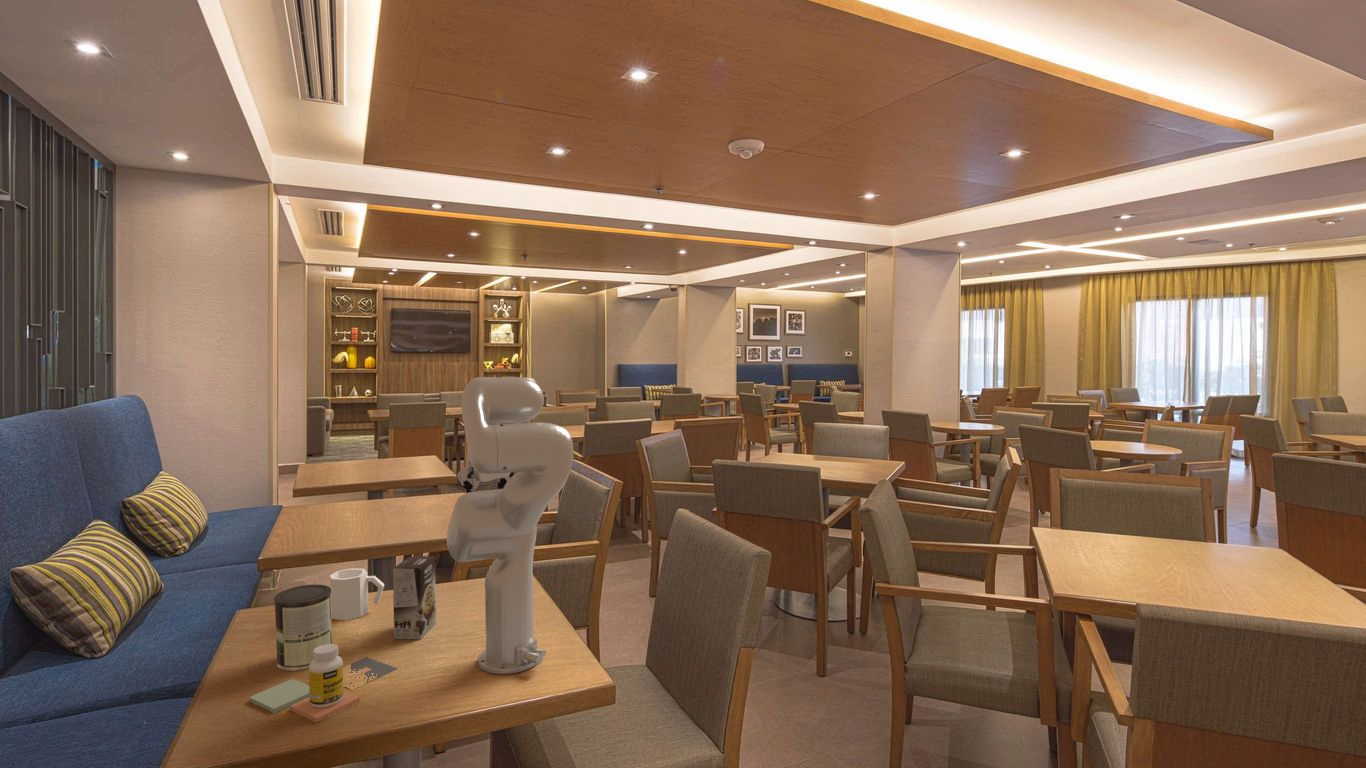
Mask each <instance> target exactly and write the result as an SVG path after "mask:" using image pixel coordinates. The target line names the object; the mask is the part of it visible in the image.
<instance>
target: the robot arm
mask: <svg viewBox="0 0 1366 768" xmlns="http://www.w3.org/2000/svg"><path fill="white" fill-rule="evenodd" d="M544 403H545V397H544V393H543V390H542V389H541V387H540V385H538V384H537V382H536V379H534V378H533V377H523V376H521V377H519V376H501V377H497V376H496V377H495V376H484V377H483V376H481V377H479V376H478V377H473V378H472V379H471V380H470V381H469V382H468V383H467V384H466V385H465V387H464V389H463V390H462V396H461V416H462V422H463V428H464V432H465V440H466V446H467V449H466V459H465V461H466V463H465V466H464V467H463V468H462V469H461V470H460V471H459V472H457V473H456V477H457V479H458V482H459V485H460V486H461V487H462V489H463V491H465V493H464V494H462V495H460V496H458V498H457V499H456V501H455V504H454V506H453V508H452V509H453V510H452V514H451V517H450V518H449V519H450V520H449V523H448V527H447V528H448V529H447V532H446V533H447V534H446V545H447V546H446V547H447V549H448V552H449V555H450V556H451V558H452V559H453V560H455V561H456V562H459V563H469V562H476V561H485V560H492V559H493V560H494V561H493V562H492V564H491V565H490V567H489V569H488V571H487V573H486V576H485V579H484V600H485V601H484V603H485V604H484V605H485V606H484V607H485V608H484V609H485V611H484V612H485V614H484V615H485V616H484V617H485V650H483V651H482V652H481V653H480V654H479V656H478V658H477V664H478V665H477V666H478V667H479V668H480V669H481V670H482V671H484V672H486V673H490V674H495V675H508V674H516V673H521V672H524V671H526V670H529V669H531V668H533V667H534V666H536V665H541V664H542V663H543V658H544V657H545V656H546V655H547V654H546V653H547V650H546V649H542V648H539V646H538V639H537V638H534V605H533V603H534V599H533V598H534V597H533V596H534V591H533V589H534V588H533V585H534V584H533V581H534V580H533V574H534V573H533V572H534V571H533V569H534V567H533V566H534V565H533V564H534V553H535V548H536V540H537V533H538V530H537V529H538V526H537V525H538V522H539V521H540V519H541V517H542V515H543V514H544V512H545V510H546V508H547V506H548V505H549V504H550V503H551V502H552V501H553V499H554V498H555V497H557V495H558V494H559V493H560V492H561V490H562V489H563V488H564V486H565V484H566V483H567V480H568V478H569V475H570V473H571V469H572V467H573V466H572V465H573V460H574V443H573V439H572V436H571V434H570V432H569V431H568V430H567V429H566V428H564V427H562V426H561V425H558V424H554V423H550V422H538V421H537V422H529V421H531V420H533V419H535V418H536V417H537V416H539V415H540V413H541V412H542V410H543V407H544ZM496 480H498V481H499V482H497V489H496V488H495V489H490V490H477V488H478V487H479V485H480V483H485V482H490V481H491V482H492V481H496Z"/></svg>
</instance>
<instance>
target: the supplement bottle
mask: <svg viewBox="0 0 1366 768" xmlns="http://www.w3.org/2000/svg"><path fill="white" fill-rule="evenodd" d="M313 657H314V659H315V660H313V661H312V662H311V663H310V666H309V669H308V674H309V675H308V678H309V680H308V681H309V682H308V683H309V684H308V685H309V695H310V705H311V706H313V707H316V708H324V707H329V706H332V705H334V704H336V703H338V702H339V701H341V699H342V698H343V691H344V687H343V667H344V662H343V658H342V657H341V656H340V655H339V646H338V644H335V643H332V644H325V645H321V646H318V647H316V648H315V649H314V650H313Z"/></svg>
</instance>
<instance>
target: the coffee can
mask: <svg viewBox="0 0 1366 768" xmlns="http://www.w3.org/2000/svg"><path fill="white" fill-rule="evenodd" d="M273 600H274V601H273V602H274V609H275V610H274V611H275V636H276V639H275V641H276V666H277V668H278V669H280V670H283V671H290V672H292V671H293V672H294V671H295V672H296V671H303V670H309V666H310V663H311V662H312V661H313V660H315V659H314V657H313V650H314V649H315V648H316V647H318V646H321V645H325V644H333V634H332V633H333V631H332V629H333V628H332V617H331V588H330V585H326V584H325V585H324V584H304V585H299V586H295V587H294V586H293V587H290V588H287V589H285V590H282V591H281V592H278V593H277V594H276V595H275V596H274V599H273Z"/></svg>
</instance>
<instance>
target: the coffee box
mask: <svg viewBox="0 0 1366 768" xmlns="http://www.w3.org/2000/svg"><path fill="white" fill-rule="evenodd" d="M392 572H393V573H392V575H393V576H392V579H393V580H392V583H393V584H392V587H393V589H392V590H393V593H392V594H393V596H392V597H393V598H392V599H393V639H394V640H395V639H396V640H398V639H399V640H421V639H422V638H424V636H426V634H427V633H429V631H431V630H432V628H434V626H435V625H436V624H437V601H436V599H437V594H436V556H434V555H433V556H431V555H427V556H425V555H424V556H423V555H422V556H420V555H419V556H408V557H407V558H406V559H404V560H403V561H401V562H399V563H398V564H397V565H396V566H394V567H393V568H392Z"/></svg>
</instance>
